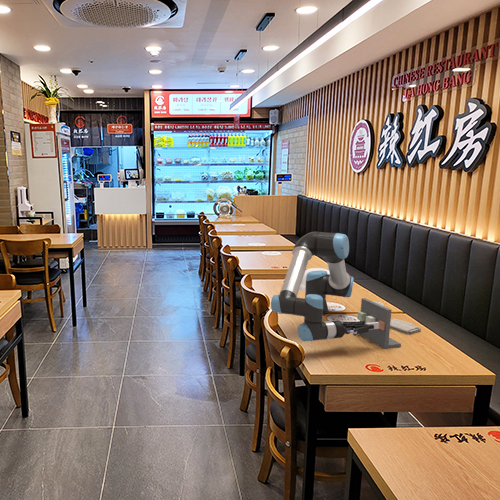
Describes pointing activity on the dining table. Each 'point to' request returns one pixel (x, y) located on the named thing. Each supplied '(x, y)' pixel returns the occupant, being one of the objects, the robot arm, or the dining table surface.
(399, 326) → the washcloth
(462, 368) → the dining table surface
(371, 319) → the ivory button
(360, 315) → the sage button
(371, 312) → the button panel
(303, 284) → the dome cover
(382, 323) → the terracotta button
